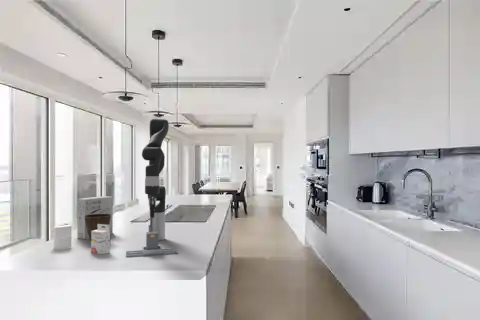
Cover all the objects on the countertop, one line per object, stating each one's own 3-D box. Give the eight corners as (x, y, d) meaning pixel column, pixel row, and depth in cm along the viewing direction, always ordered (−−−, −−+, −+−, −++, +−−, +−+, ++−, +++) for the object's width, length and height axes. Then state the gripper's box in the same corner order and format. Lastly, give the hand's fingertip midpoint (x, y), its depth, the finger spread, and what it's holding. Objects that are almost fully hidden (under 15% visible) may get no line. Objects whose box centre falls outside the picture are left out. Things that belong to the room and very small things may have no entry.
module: (157, 250, 189) (157, 231, 189) (158, 252, 184) (158, 233, 184) (146, 251, 187) (146, 232, 187) (146, 253, 182) (146, 234, 182)
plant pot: (78, 242, 210) (78, 216, 210) (99, 238, 223) (99, 213, 223) (96, 245, 203) (96, 217, 203) (116, 240, 216) (116, 214, 216)
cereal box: (84, 239, 220) (85, 199, 220) (77, 237, 224) (77, 198, 224) (112, 233, 239) (112, 196, 239) (105, 232, 243) (105, 196, 243)
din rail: (175, 249, 194) (175, 244, 194) (177, 253, 185) (177, 248, 185) (126, 252, 186) (126, 247, 186) (125, 257, 178) (126, 251, 178)
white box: (68, 244, 205) (68, 224, 205) (73, 247, 198) (73, 226, 198) (51, 247, 198) (51, 226, 199) (56, 250, 192) (56, 228, 192)
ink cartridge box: (90, 253, 186) (90, 225, 186) (97, 250, 191) (97, 223, 191) (103, 254, 183) (103, 226, 184) (110, 252, 188) (110, 224, 188)
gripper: (144, 184, 191) (144, 216, 191) (145, 185, 179) (145, 219, 179) (158, 184, 194) (158, 215, 193) (160, 185, 181) (160, 219, 181)
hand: (152, 217), depth 186 cm, fingers closed
